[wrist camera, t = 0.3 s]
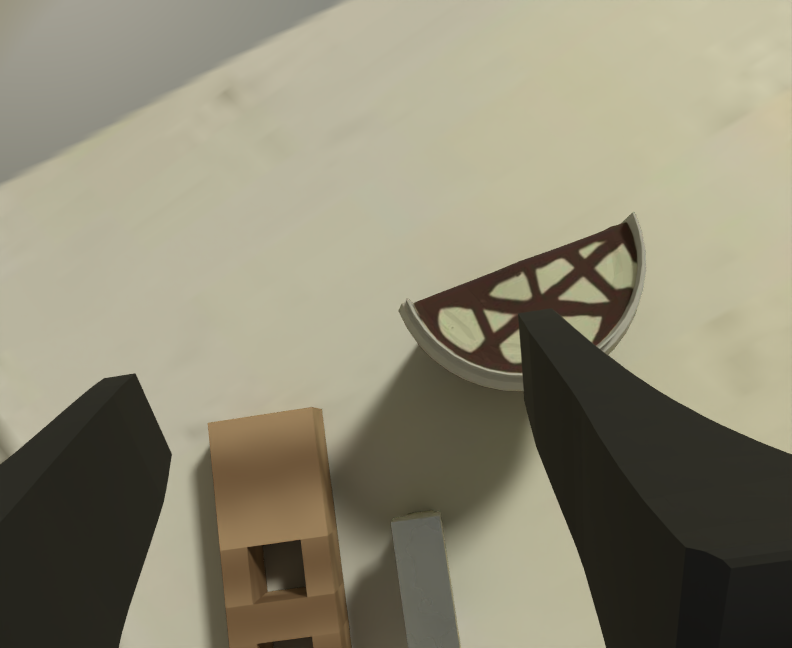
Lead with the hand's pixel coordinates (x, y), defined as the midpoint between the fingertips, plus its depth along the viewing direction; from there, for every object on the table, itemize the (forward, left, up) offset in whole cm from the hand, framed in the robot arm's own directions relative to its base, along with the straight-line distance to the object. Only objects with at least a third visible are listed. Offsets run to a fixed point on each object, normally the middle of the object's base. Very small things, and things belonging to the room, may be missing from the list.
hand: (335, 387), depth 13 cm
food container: (+3, -7, -28) cm, 29 cm away
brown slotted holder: (-10, +8, -28) cm, 31 cm away
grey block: (-9, 0, -28) cm, 29 cm away
